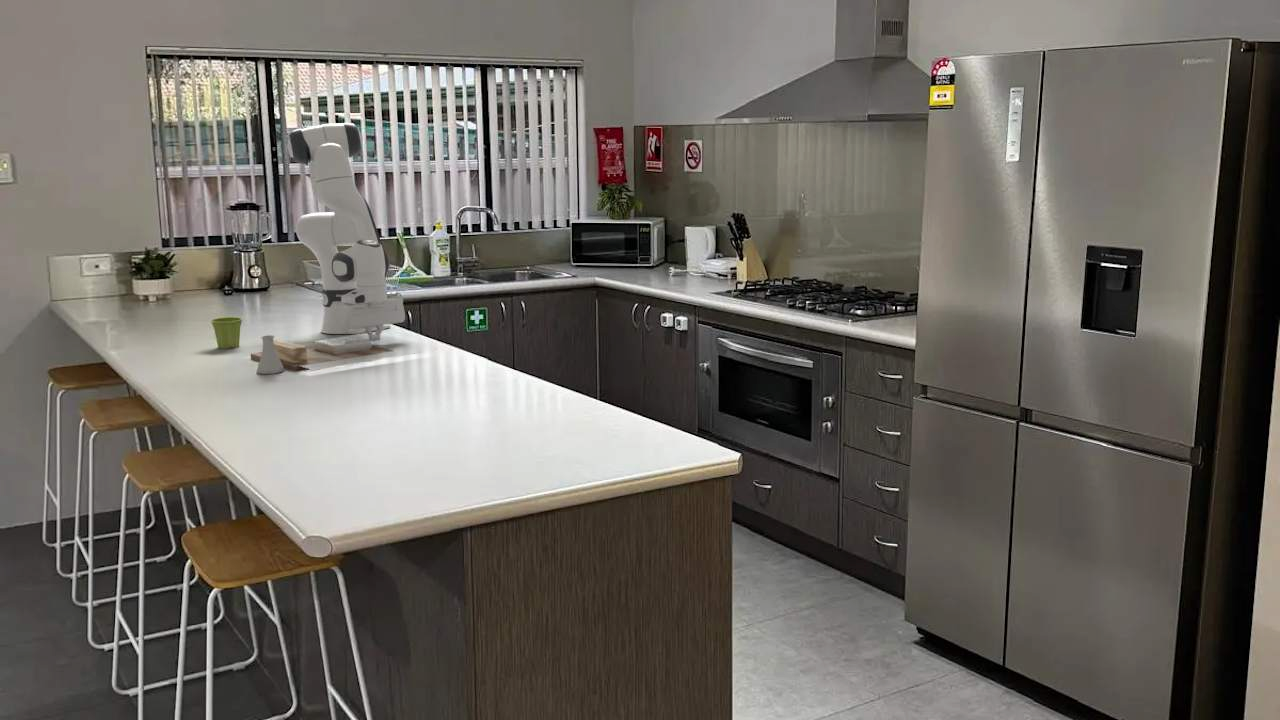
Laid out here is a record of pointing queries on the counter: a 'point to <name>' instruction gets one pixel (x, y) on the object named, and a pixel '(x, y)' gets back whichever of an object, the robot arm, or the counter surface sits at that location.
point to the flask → (269, 358)
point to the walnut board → (323, 357)
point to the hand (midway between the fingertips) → (374, 340)
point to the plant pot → (227, 331)
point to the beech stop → (290, 351)
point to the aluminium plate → (342, 345)
